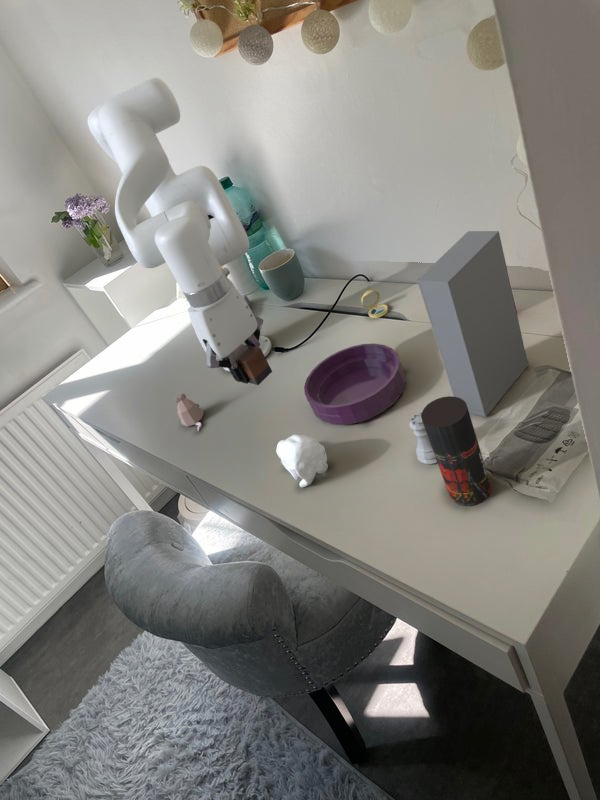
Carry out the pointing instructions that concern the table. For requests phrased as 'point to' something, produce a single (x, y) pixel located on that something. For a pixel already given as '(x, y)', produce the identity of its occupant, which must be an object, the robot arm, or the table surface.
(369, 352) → the bowl
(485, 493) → the deodorant
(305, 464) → the white lumpy piece
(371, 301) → the eyeshadow
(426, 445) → the rook chess piece
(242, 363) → the brown rectangular block
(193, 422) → the mouse figurine
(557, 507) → the table surface
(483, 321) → the upright grey slab
